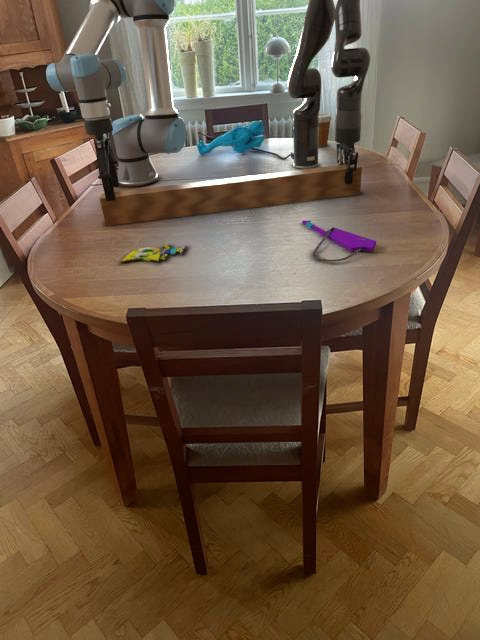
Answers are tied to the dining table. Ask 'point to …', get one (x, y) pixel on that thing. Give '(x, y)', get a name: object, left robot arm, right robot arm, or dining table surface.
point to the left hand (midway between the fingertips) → (113, 193)
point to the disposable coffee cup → (323, 129)
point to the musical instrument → (342, 240)
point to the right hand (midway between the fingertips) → (345, 181)
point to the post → (229, 194)
